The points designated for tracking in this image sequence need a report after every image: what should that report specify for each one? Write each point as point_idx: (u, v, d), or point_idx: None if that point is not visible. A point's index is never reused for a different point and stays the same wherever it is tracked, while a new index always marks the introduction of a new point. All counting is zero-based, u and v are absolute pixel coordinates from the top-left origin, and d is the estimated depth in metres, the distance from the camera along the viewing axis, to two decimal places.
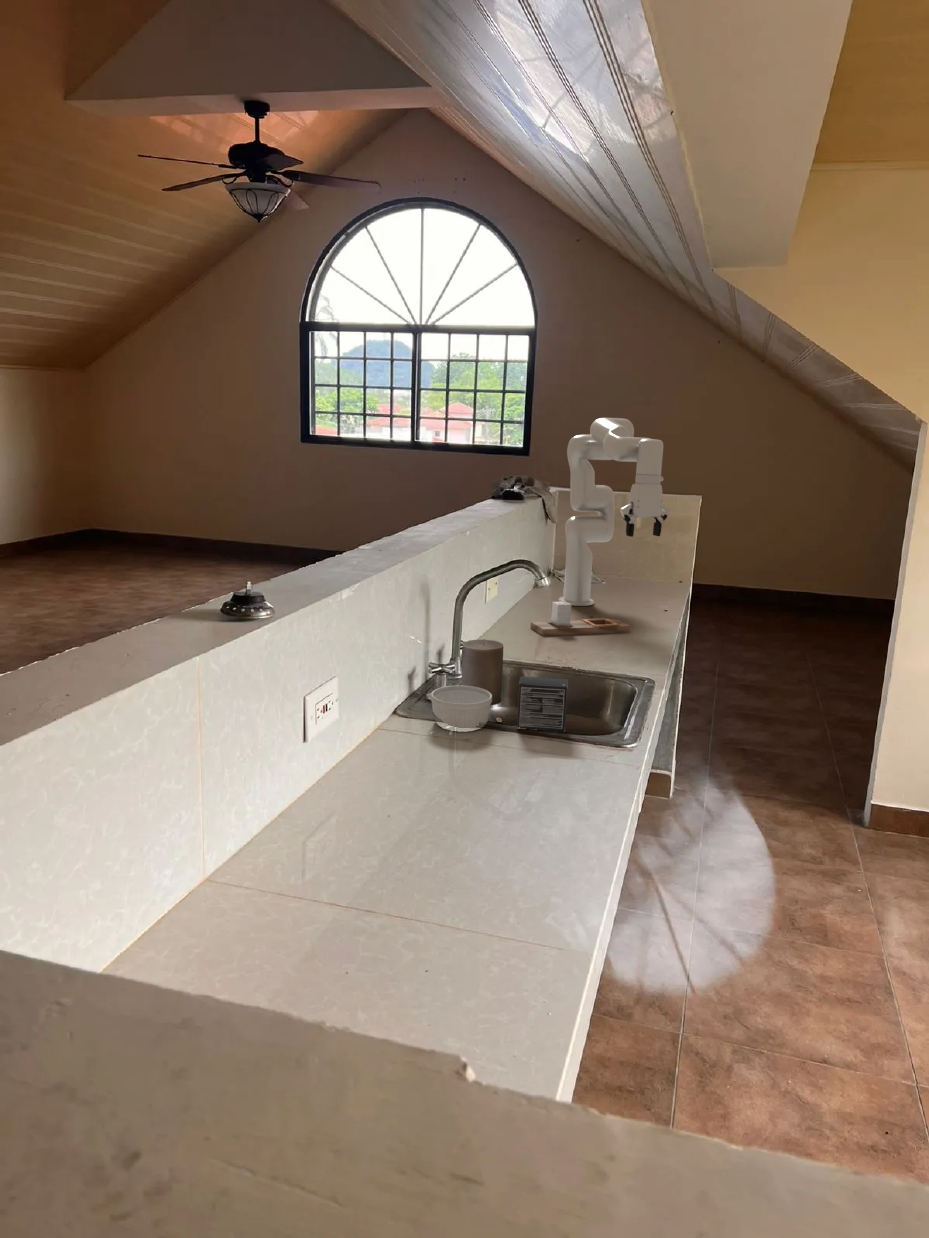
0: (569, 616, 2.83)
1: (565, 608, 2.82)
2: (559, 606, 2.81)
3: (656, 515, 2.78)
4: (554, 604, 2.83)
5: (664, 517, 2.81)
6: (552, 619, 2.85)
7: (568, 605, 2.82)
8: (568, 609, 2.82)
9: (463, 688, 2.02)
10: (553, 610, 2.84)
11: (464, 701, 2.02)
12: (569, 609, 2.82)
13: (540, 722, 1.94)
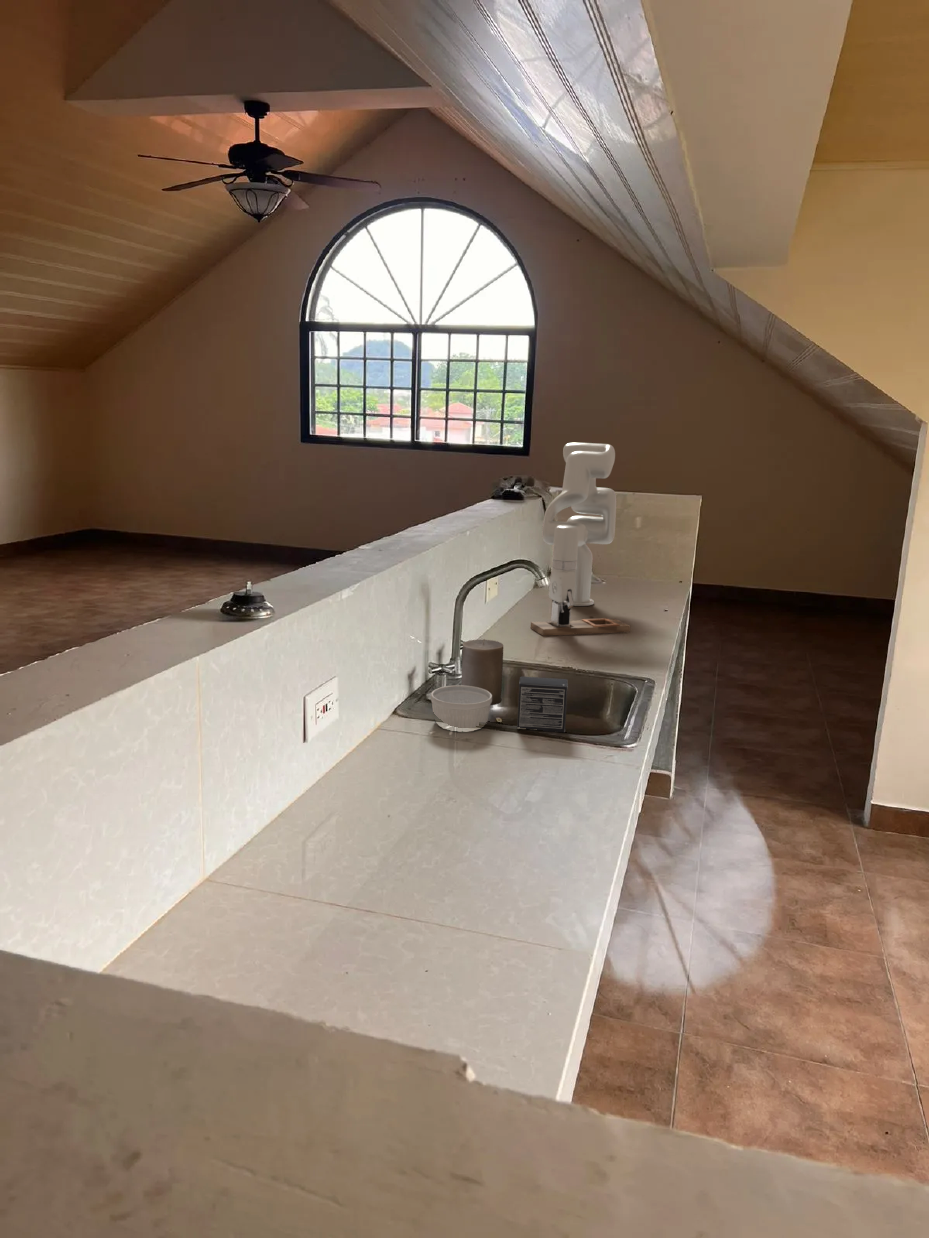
0: None
1: None
2: (559, 606, 2.81)
3: None
4: (554, 604, 2.83)
5: None
6: (552, 619, 2.85)
7: None
8: None
9: (463, 688, 2.02)
10: (553, 610, 2.84)
11: (464, 701, 2.02)
12: None
13: (540, 722, 1.94)
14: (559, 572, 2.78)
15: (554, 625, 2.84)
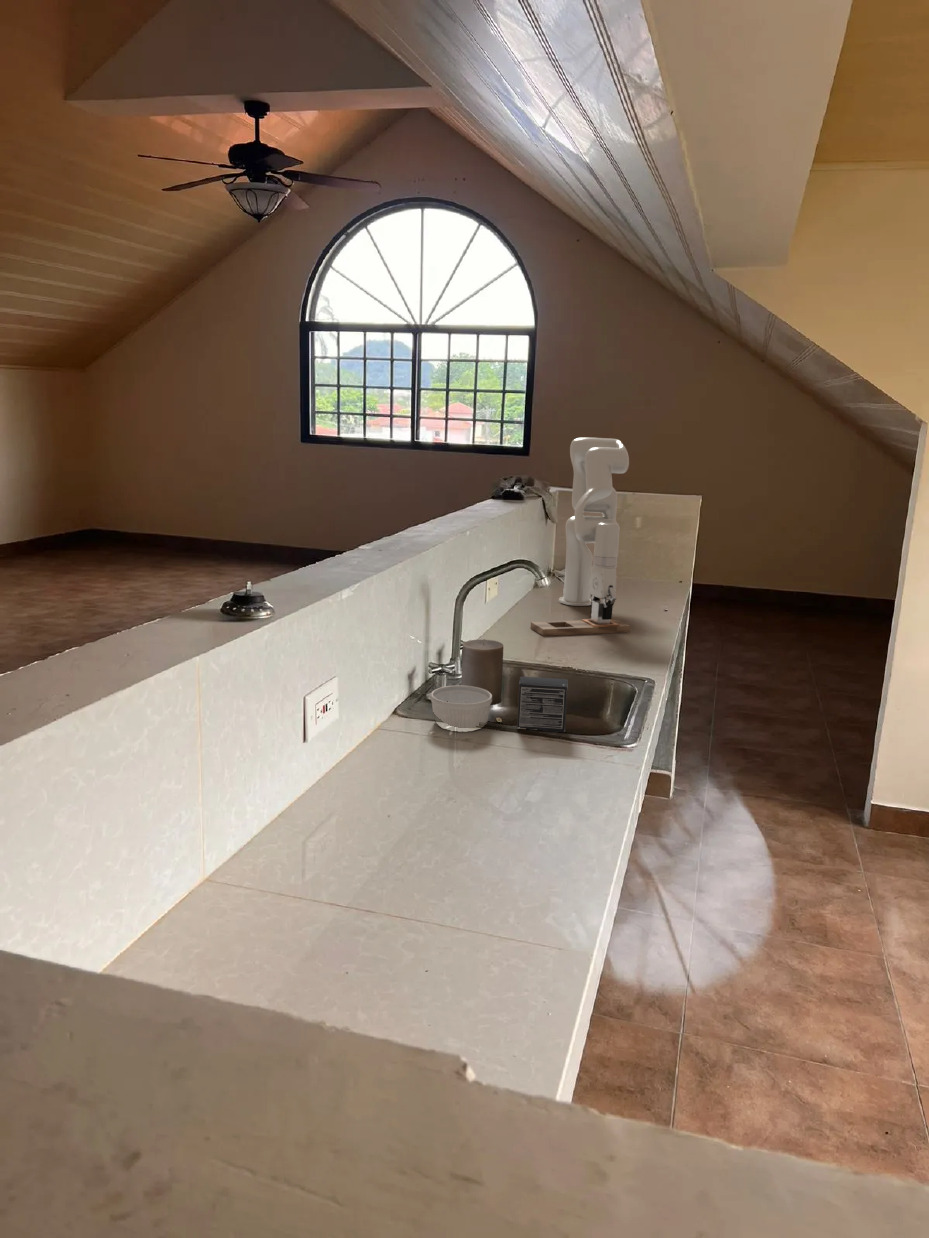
0: None
1: None
2: (600, 605, 2.85)
3: None
4: (594, 603, 2.88)
5: None
6: (592, 618, 2.90)
7: None
8: None
9: (463, 688, 2.02)
10: (593, 609, 2.89)
11: (464, 701, 2.02)
12: None
13: (540, 722, 1.94)
14: (600, 568, 2.82)
15: (594, 623, 2.88)
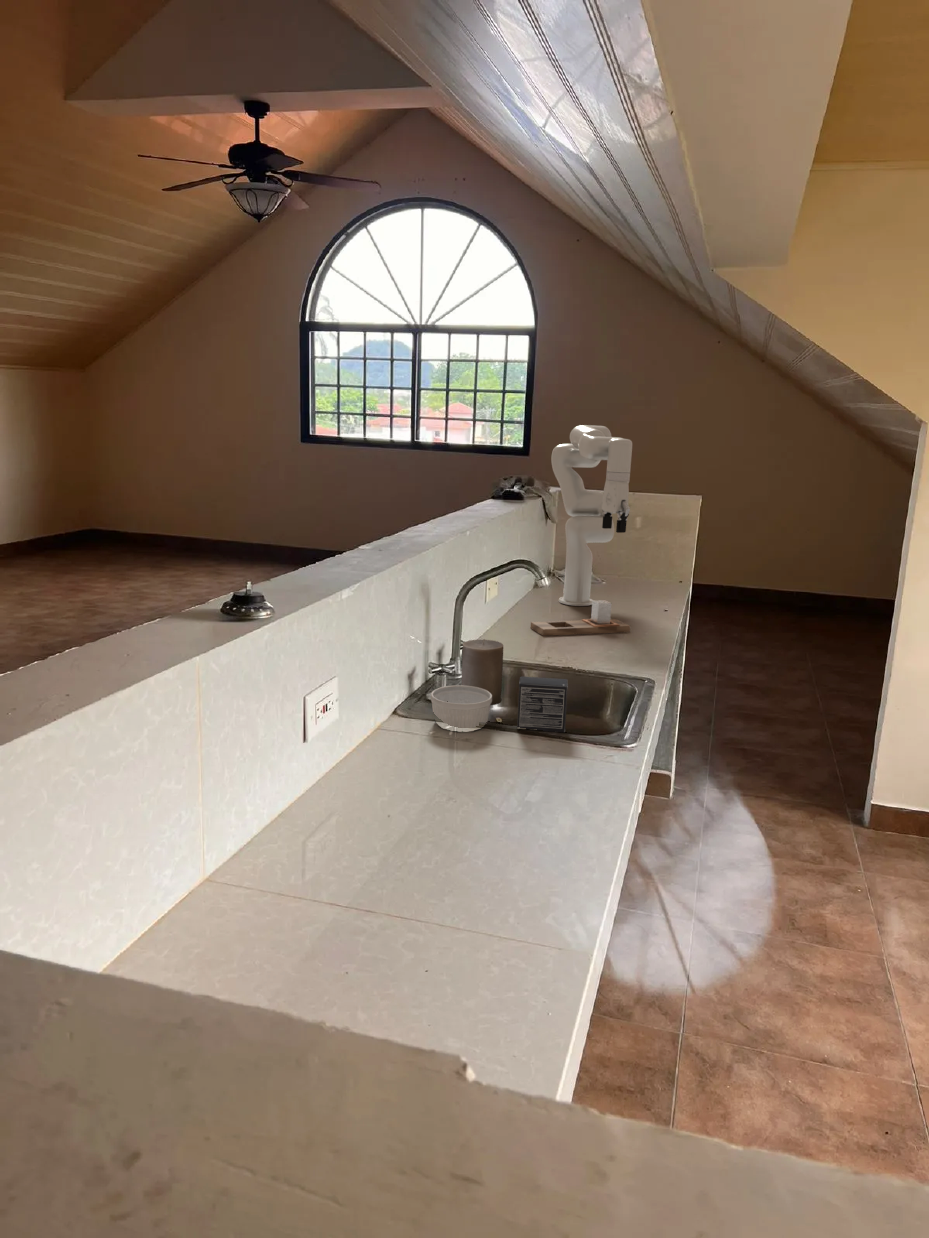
0: (609, 615, 2.87)
1: (605, 606, 2.86)
2: (600, 605, 2.85)
3: None
4: (594, 603, 2.88)
5: None
6: (592, 618, 2.90)
7: (608, 604, 2.86)
8: (608, 608, 2.87)
9: (463, 688, 2.02)
10: (593, 609, 2.89)
11: (464, 701, 2.02)
12: (609, 608, 2.87)
13: (540, 722, 1.94)
14: (613, 483, 2.89)
15: (594, 623, 2.88)
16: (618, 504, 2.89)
